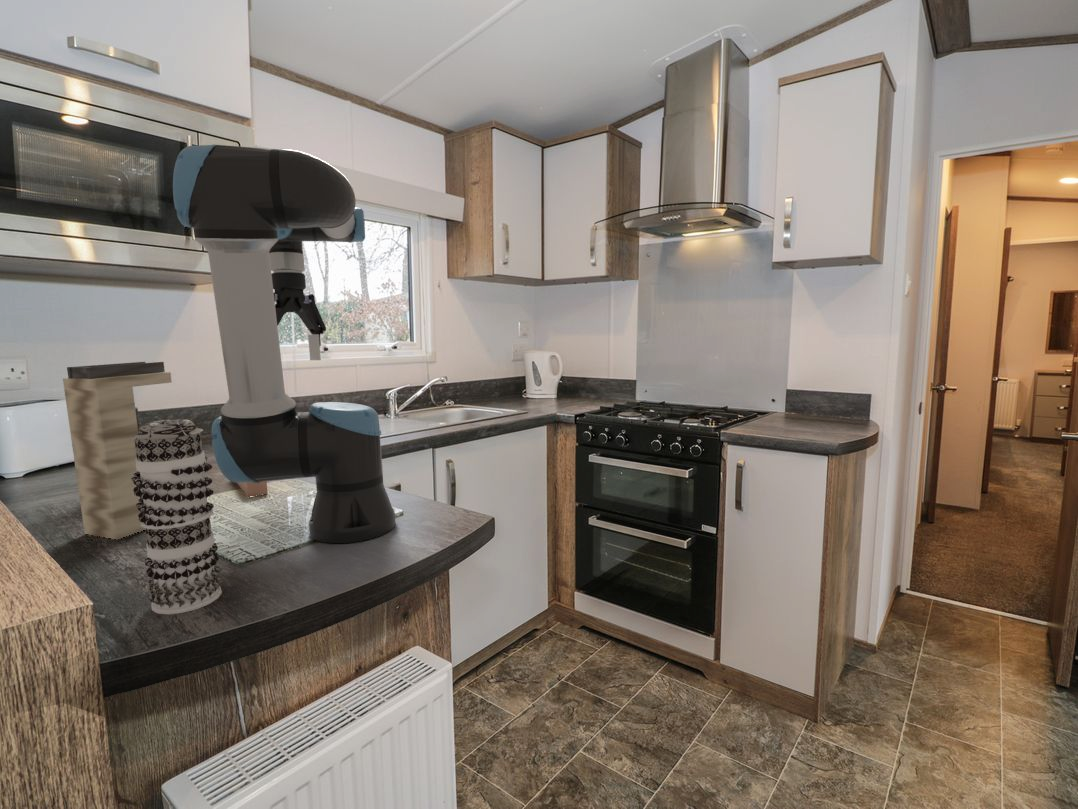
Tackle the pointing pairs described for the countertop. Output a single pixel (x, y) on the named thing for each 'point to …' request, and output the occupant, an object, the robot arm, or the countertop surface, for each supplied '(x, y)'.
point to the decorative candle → (176, 516)
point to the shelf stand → (107, 442)
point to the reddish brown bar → (254, 488)
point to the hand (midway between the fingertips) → (295, 362)
